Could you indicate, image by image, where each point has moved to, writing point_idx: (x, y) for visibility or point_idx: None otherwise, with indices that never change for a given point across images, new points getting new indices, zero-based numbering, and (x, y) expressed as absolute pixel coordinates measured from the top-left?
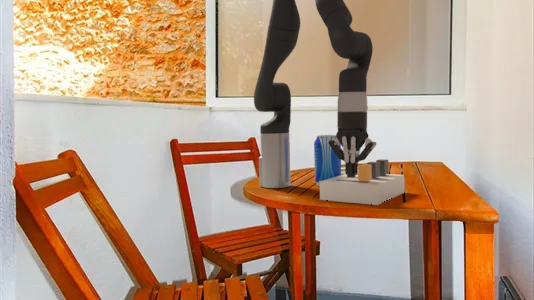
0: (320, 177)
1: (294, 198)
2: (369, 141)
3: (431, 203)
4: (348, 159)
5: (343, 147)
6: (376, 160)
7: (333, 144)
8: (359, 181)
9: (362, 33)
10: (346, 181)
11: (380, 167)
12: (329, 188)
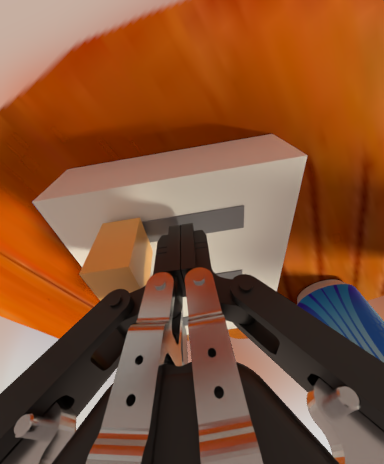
0: (347, 294)
1: (377, 103)
2: None
3: (8, 257)
4: (188, 285)
5: (232, 365)
6: (182, 361)
7: (361, 388)
8: (147, 226)
9: None
10: (195, 209)
11: None
12: (247, 154)
